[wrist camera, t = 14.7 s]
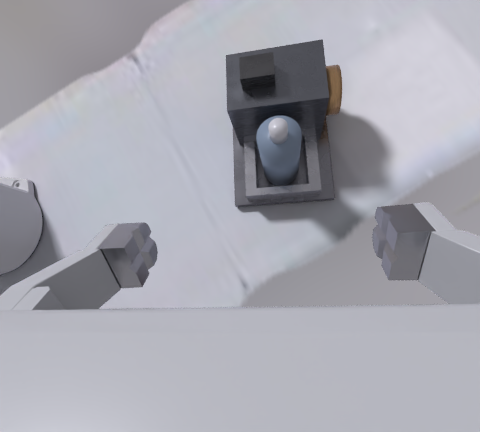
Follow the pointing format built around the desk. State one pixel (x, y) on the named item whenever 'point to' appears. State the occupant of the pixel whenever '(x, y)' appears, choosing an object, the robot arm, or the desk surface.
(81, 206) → the desk surface
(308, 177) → the gray recessed holder
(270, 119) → the bottle
